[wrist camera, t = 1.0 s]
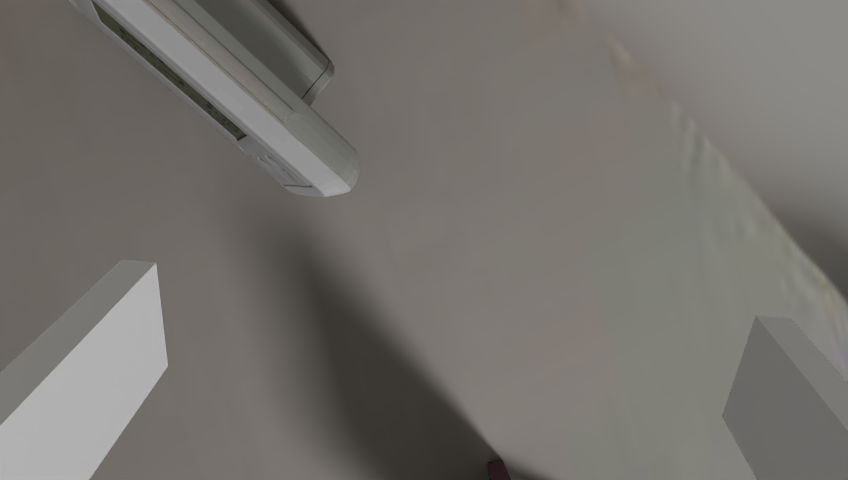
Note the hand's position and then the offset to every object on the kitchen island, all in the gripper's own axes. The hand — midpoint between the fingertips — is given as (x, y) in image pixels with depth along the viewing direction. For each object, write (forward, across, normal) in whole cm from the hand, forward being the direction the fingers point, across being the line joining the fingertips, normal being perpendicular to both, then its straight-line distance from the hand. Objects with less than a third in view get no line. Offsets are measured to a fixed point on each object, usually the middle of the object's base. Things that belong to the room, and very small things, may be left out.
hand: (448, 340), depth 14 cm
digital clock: (+24, +13, -1) cm, 27 cm away
